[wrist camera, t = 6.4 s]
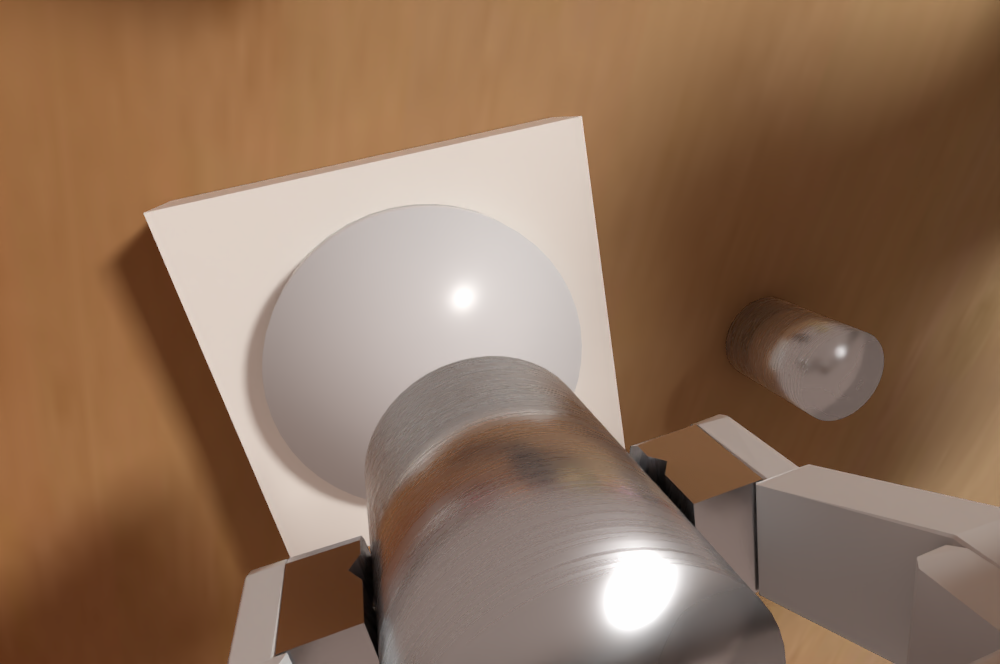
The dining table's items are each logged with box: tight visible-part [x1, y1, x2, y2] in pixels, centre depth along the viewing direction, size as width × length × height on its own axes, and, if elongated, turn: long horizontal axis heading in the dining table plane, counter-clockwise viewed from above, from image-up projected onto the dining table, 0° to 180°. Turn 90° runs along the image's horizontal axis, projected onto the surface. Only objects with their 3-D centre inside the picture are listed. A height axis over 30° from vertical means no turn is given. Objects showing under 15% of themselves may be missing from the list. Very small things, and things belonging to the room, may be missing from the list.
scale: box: [144, 116, 625, 558], centre depth 22 cm, size 14×15×4 cm
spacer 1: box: [364, 356, 786, 664], centre depth 8 cm, size 4×4×5 cm
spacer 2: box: [726, 297, 884, 421], centre depth 26 cm, size 4×4×5 cm
